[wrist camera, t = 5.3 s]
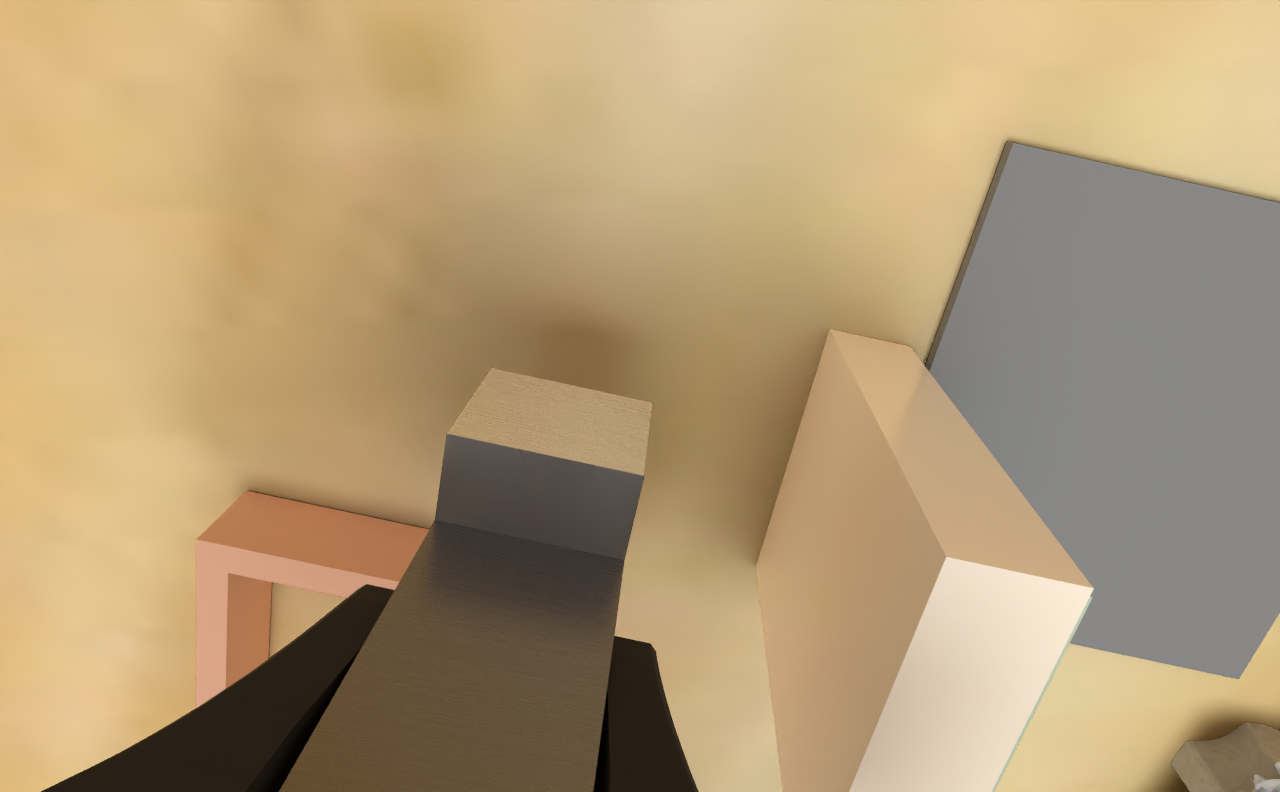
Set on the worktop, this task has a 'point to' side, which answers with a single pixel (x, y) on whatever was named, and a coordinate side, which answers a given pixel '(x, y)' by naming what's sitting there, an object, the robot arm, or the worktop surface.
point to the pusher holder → (281, 573)
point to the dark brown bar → (498, 607)
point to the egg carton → (1232, 761)
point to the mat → (1132, 393)
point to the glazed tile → (904, 588)
